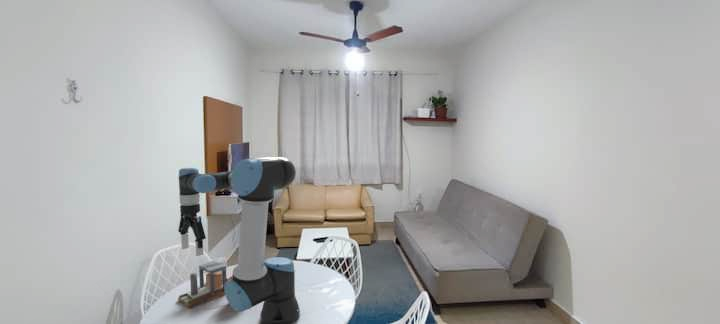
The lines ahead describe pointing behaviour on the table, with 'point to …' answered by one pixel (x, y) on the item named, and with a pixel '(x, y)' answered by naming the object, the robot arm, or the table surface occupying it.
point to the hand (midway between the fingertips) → (192, 251)
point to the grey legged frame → (210, 268)
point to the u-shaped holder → (205, 290)
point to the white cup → (220, 261)
